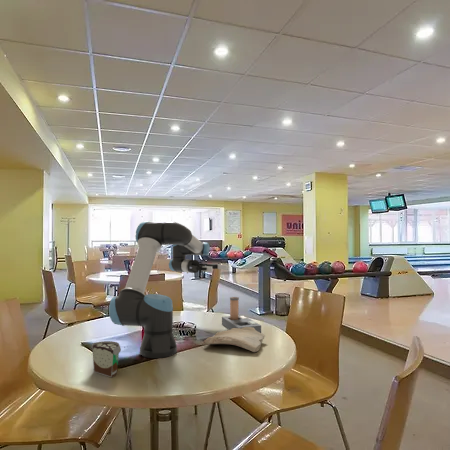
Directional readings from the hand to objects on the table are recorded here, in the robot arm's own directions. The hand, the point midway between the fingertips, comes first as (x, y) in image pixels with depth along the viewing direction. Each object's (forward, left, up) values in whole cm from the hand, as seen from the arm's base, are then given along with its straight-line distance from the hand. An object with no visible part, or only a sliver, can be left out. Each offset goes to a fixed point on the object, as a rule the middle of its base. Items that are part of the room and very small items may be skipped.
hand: (219, 268), depth 199 cm
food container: (-51, +60, -30) cm, 84 cm away
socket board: (-14, -6, -30) cm, 34 cm away
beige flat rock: (-38, +6, -31) cm, 49 cm away
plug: (-8, -5, -30) cm, 32 cm away
